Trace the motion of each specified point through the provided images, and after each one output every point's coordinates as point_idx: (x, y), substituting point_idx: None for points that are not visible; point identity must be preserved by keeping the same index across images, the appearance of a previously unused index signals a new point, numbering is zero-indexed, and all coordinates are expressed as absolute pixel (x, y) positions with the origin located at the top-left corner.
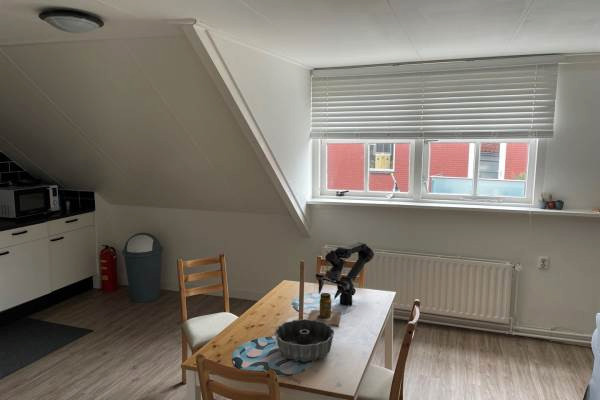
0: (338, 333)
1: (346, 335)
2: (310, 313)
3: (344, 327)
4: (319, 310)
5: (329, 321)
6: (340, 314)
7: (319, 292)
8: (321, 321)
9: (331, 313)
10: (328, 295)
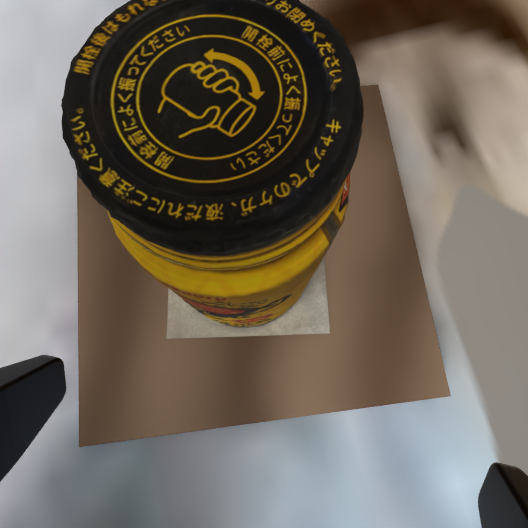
0: (77, 24)
1: (10, 10)
2: (421, 286)
3: (33, 133)
4: (351, 407)
5: None
6: (79, 361)
7: (498, 485)
8: None
9: (189, 359)
10: (111, 47)
